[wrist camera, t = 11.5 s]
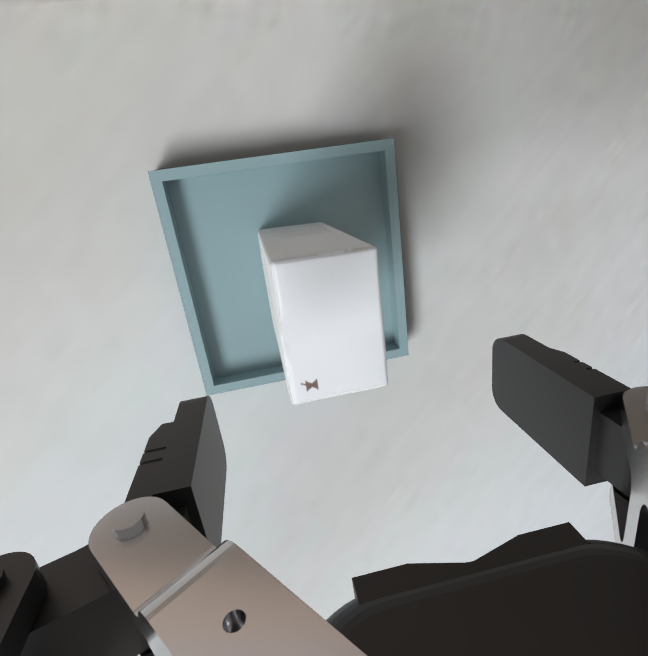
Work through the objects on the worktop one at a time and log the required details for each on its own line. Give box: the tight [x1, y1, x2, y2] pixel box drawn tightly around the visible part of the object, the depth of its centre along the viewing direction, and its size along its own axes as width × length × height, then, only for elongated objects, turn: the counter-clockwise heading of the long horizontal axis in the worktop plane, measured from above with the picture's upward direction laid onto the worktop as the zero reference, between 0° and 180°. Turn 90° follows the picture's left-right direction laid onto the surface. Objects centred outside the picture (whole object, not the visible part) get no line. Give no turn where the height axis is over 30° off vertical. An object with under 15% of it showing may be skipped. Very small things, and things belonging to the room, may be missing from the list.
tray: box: [148, 138, 409, 396], centre depth 27 cm, size 14×14×2 cm
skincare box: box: [258, 222, 388, 405], centre depth 22 cm, size 6×4×12 cm
